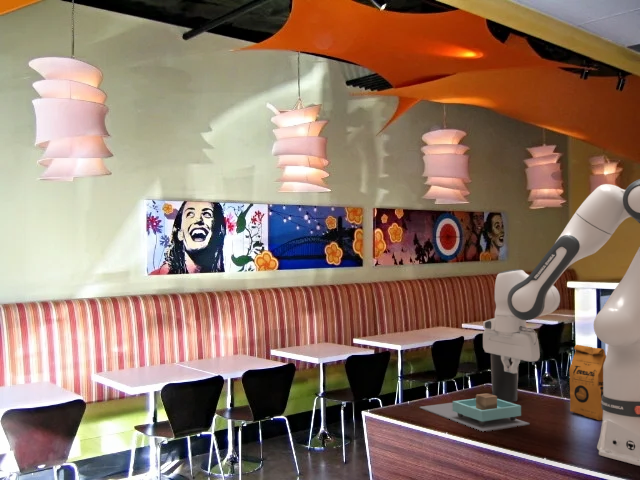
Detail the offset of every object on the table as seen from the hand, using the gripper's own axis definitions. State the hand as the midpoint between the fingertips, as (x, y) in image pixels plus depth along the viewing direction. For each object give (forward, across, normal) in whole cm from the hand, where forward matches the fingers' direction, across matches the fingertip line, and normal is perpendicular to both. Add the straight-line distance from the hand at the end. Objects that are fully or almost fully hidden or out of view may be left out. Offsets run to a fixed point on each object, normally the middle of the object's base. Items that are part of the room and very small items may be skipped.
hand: (510, 372), depth 193 cm
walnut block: (+14, +12, -1) cm, 18 cm away
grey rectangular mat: (+17, +19, -1) cm, 26 cm away
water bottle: (+17, +32, -26) cm, 45 cm away
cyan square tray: (+17, +12, -1) cm, 21 cm away
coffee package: (+17, +2, -35) cm, 39 cm away
